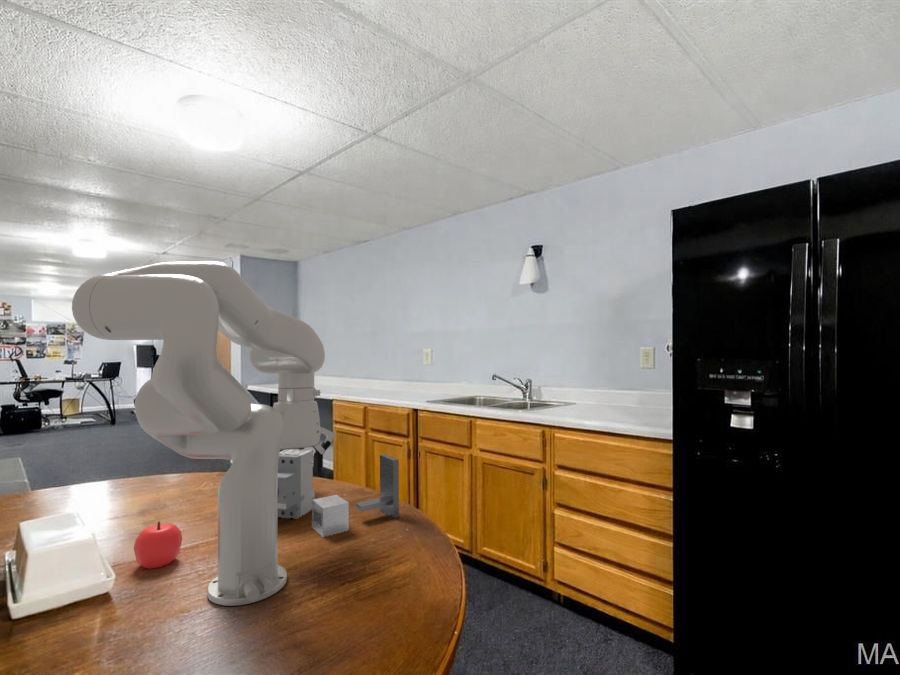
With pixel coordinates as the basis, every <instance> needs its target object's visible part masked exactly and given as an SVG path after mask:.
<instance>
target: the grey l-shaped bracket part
mask: <svg viewBox="0 0 900 675" xmlns="http://www.w3.org/2000/svg"><path fill="white" fill-rule="evenodd" d="M399 461H400V460H399V459H398V458H396V457H393V456H391V455H388V454H380V455H379V498H378V497H377V498H374V499H373V498H372V499H369V500H364V501H360V502H356V503H355V509H356V510H358V511H360V512H361V513H362V512H366V511H371V510H376V509H379V511H380V512H382V513H383V514H385V515H386V516H388V517H390V518H392V519H398V518H400V483H399V482H400V480H399V479H400V471H399V470H400V469H399V468H400V467H399V466H400V464H399V463H400V462H399Z"/></svg>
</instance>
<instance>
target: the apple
mask: <svg viewBox="0 0 900 675" xmlns="http://www.w3.org/2000/svg"><path fill="white" fill-rule="evenodd" d="M182 542H183V535H182V532H181V529H180V528H179V527H178V526H177V525H176V524H173V523H171V522H167V523H161V522H160V520H158V521H157V524H155V525H151V526H148V527H146V528H144V529H143V530H142V531H141V532H140V533H139V535H138V536H137V537H136V539H135V542H134V546H133V551H134V556H135V560H136V563H137V565H140V566H142V567H143V568H145V569H148V570H151V569H160V568H162V567H164V566H168V565H170V564H171V563H172V562H174V560H175V559H176V558H177V557H178V555H179V554H180V552H181V547H182Z"/></svg>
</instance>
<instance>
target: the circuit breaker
mask: <svg viewBox="0 0 900 675" xmlns="http://www.w3.org/2000/svg"><path fill="white" fill-rule="evenodd" d="M314 453H315V449H305V448H304V449H302V450H300V449H288V450H283V451H281V452H280V453H279V461H278V486H277V492H278V518H279V517H281V518H280V519H290V518H293V520H298V519H300V518H301V517H303V516H304V515H306V514H307V513H309V512H311V511H312V500H313V499H316V498H315V495H316V494H315V489H314V487H313V486H314V484H313V482H314V481H313V480H314V479H313V478H314V477H313V476H314V475H313V473H314V470H313V465H314ZM302 515H303V516H302ZM299 517H300V518H299ZM297 518H298V519H297Z"/></svg>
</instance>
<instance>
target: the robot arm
mask: <svg viewBox="0 0 900 675" xmlns="http://www.w3.org/2000/svg"><path fill="white" fill-rule="evenodd" d="M71 312H72V316H73V318H74V322H76V324H77V325H78V326H79V327H80V329H82V330H83V331H84V333H86V334H88V335H90V336H92V337H94V338H97V339H101V340H108V341H150V340H151V341H157V340H159V341H161V340H162V342H163V343H162V349H161V352H160V356H159V357H158V359H157V360H156V362H155V364H154V366H153V369H152V374H151V378H150V379H148V380H147V381H146V382H145V383H143V385H142V386H141V387H140V389H139V390H138V392H137V394H136V396H135V400H134V401H135V402H134V411H135V417H136V419H137V422H138V424H139V426H140V428H141V429H142V430H143V431H144V432H145V433H146V434H148V435H149V436H150V437H152V439H154V440H156V441H158V442H159V443H160V444H162V445H164V446H166V447H168V448H169V449H171V450H172V451H174V452H175V453H178V454H179V455H181V456H182V457H186V458H190V459H196V460H198V459H199V460H200V459H201V460H228V461H232V462H231V465H230V467H229V468H228V470H226V472H225V473H224V475H223V476H222V478H221V480H220V482H219V484H218V488H217V576H216V577H214V578H213V579H212V580H211V581H210V582H209V584H208V586H207V590H206V592H207V598H208V599H209V601H210V602H212V603H214V604H217V605H218V606H225V607H226V606H227V607H229V606H230V607H232V606H234V607H235V606H244V605H249V604H252V603H253V604H254V603H257V602H260V601H263V600H265V599H267V598H269V597H271V596H273V595H274V594H277V593H278V592H280V590H281V589H282V588H284V586H285V584H286V583H287V579H288V572H287V570H286V569H285V568H284V567H283V566H281V565H279V564H278V563H279V561H278V554H279V553H278V547H279V546H278V543H279V542H278V532H279V531H278V521H279V520H278V518H279V517H278V492H277V486H278V461H279V453H280V450H288V449H298V448H304V449H305V448H306V449H307V448H312V449H313V450H314V452H313V456H314V465H313V472H316V473H317V474H320V473H321V472H322V468H323V467H324V454H325V453H326V452H327V450H328V449H329V447H330V446H331V444H332V442H333V440H334V439H335V436H336V433H335V432H333V431H332V430H328V429H327V428H325V427H322V426H321V420H320V418H321V417H320V411H319V407H318V402H317V401H316V400H315V399H316V397H318V396H319V397H320V396H321V390H320V389H316V387H315V373H316V372H318V371H319V370H320V369H322V367H323V365H324V363H325V357H326V353H325V348H324V344H323V343H322V340H321V338H320V337H319V335H318V334H317V332H315V330H314V329H313V328H312V327H311V325H309V324H308V323H306V322H305V321H303V320H302V319H299V318H297V317H295V316H291V315H290V314H287V313H285V312H283V311H281V310H278V309H275V308H274V307H270V306H268V305H266V302H264V300H263V299H262V298H261V297H260V296H259V295H258V294H257V293H256V291H255V290H253V288H252V287H251V286H250V285H249V284H248V282H247V281H246V280H245V279H244V278H243V276H241V275H240V273H239V272H238V271H237V270H236V269H235V268H233V267H232V266H230V265H228V264H227V263H224V262H220V261H214V260H213V261H212V260H211V261H209V260H208V261H206V260H203V261H201V260H199V261H167V262H166V261H165V262H158V263H152V264H148V265H143V266H137V267H132V268H128V269H123V270H119V271H118V270H117V271H113V272H108V273H107V272H106V273H101V274H98V275H96V276H93V277H91V278H89V279H87V280H85V281H84V282H83V283H82V284H80V286H79V287H78V288H77V289H76V291H75V293H74V295H73V298H72V301H71ZM218 331H219V332H220V333H222V334H223V335H224V336H225V337H226V338H227V339H228V340H230V341H231V342H232V343H234V344H237V345H239V346H241V347H244V348H245V347H246V348H250V352H249V360H250V363H251V365H252V368H253V367H254V369H256V371H258V372H260V373H262V374H269V375H270V374H271V375H274V374H275V375H277V374H278V383H277V384H278V386H277V387H278V388H277V389H278V390H277V391H278V392H277V400H278V401H277V402H273V406H270V405H267V404H264V403H252V402H251V398H250V396H249V394H248V392H247V391H246V389H245V388H244V387H243V385H242V384H241V382H239V381H238V380H237V379H236V378H235V377H234V375H233V374H231V372H230V371H229V370H228V369H227V368H226V367H225V366H224V365H223V364H222V363H221V361H220V360H219V359H218V357H217V343H218V342H217V341H218V333H219V332H218ZM321 435H324V436H325V440H324V441H323V442H322V443H321ZM320 443H321V444H320Z"/></svg>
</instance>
